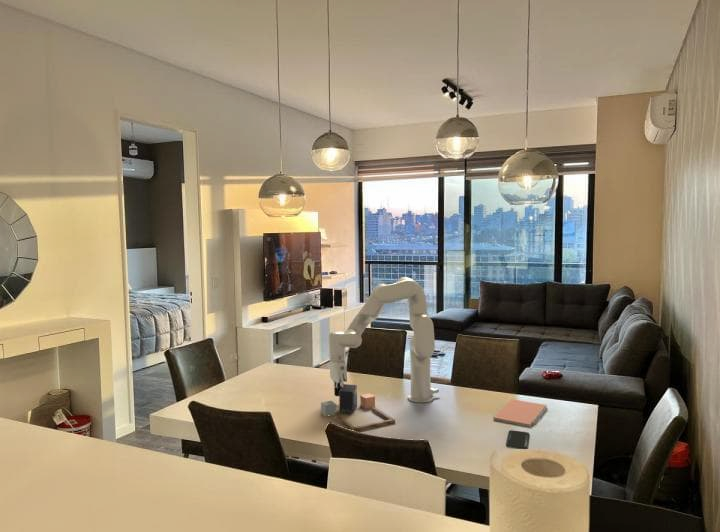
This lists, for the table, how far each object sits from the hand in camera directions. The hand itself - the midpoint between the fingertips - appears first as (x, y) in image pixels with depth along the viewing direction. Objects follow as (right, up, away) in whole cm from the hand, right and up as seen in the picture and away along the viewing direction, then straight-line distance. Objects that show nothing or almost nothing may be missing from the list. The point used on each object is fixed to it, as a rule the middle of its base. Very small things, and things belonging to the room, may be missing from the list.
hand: (338, 395), depth 247 cm
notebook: (+82, -4, -18) cm, 84 cm away
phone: (+72, -7, -46) cm, 85 cm away
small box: (+5, -5, -9) cm, 12 cm away
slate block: (-4, -5, -14) cm, 15 cm away
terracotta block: (+14, -4, -5) cm, 15 cm away
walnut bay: (+12, -5, -23) cm, 26 cm away
